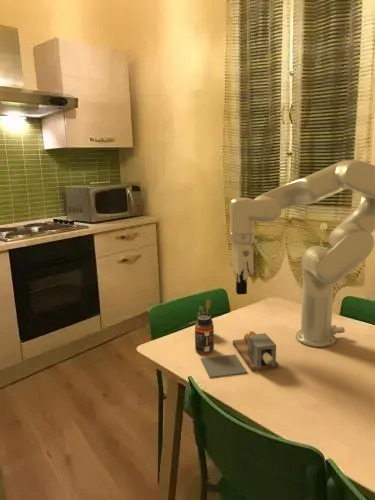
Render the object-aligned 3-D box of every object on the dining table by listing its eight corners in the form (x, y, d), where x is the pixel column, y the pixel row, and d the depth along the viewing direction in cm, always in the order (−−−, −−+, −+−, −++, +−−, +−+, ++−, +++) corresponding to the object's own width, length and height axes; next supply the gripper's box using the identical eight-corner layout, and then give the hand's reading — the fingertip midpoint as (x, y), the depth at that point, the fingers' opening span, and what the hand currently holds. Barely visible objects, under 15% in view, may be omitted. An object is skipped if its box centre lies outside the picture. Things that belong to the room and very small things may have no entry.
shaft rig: (232, 344, 130) (232, 321, 128) (255, 341, 131) (255, 319, 130) (253, 373, 112) (253, 347, 110) (279, 370, 113) (280, 344, 112)
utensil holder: (192, 335, 137) (192, 303, 135) (202, 329, 142) (201, 297, 140) (207, 339, 134) (206, 306, 132) (216, 332, 139) (216, 300, 137)
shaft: (243, 345, 124) (243, 332, 123) (256, 343, 125) (257, 330, 124) (261, 368, 110) (262, 354, 109) (276, 367, 110) (277, 352, 110)
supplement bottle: (212, 355, 123) (212, 321, 120) (193, 354, 124) (192, 320, 122) (215, 347, 128) (214, 314, 126) (197, 345, 130) (196, 313, 127)
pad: (235, 355, 123) (235, 354, 122) (247, 373, 112) (247, 372, 112) (200, 359, 120) (200, 358, 120) (209, 378, 110) (209, 376, 110)
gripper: (260, 241, 117) (259, 300, 121) (247, 233, 132) (246, 286, 135) (235, 242, 116) (235, 301, 120) (225, 234, 131) (225, 287, 135)
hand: (241, 293), depth 128 cm, fingers closed
